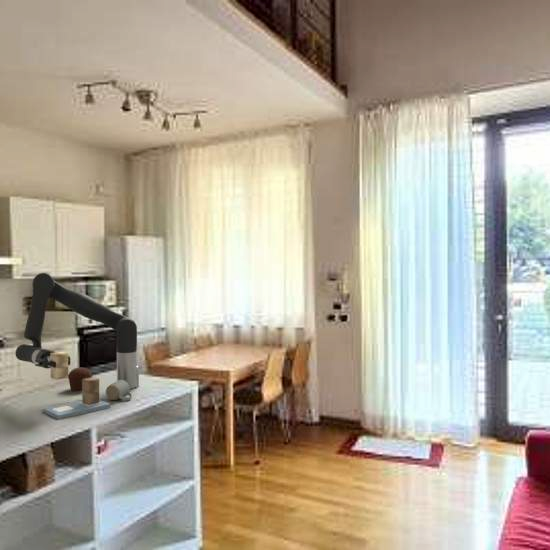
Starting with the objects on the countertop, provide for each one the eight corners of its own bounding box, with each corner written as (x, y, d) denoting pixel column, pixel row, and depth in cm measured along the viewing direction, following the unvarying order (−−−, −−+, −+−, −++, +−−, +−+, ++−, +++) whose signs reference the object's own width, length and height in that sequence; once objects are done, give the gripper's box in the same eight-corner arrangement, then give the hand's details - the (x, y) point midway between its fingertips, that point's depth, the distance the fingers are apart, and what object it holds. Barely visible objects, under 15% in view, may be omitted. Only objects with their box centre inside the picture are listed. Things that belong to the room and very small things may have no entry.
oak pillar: (62, 375, 219) (62, 351, 218) (68, 377, 215) (68, 353, 215) (50, 377, 215) (50, 353, 215) (56, 379, 212) (55, 354, 211)
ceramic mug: (104, 400, 233) (104, 383, 233) (115, 395, 241) (115, 378, 240) (125, 403, 229) (125, 385, 229) (136, 398, 237) (136, 381, 237)
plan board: (93, 401, 232) (93, 397, 232) (110, 407, 222) (110, 403, 222) (43, 411, 216) (42, 408, 216) (58, 419, 206) (58, 415, 206)
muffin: (97, 389, 252) (96, 368, 251) (73, 393, 244) (73, 371, 244) (86, 385, 261) (86, 364, 260) (63, 388, 253) (63, 367, 253)
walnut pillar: (93, 400, 227) (93, 377, 226) (99, 402, 223) (99, 379, 223) (82, 402, 223) (82, 379, 223) (88, 405, 220) (87, 381, 219)
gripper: (26, 351, 220) (44, 357, 208) (61, 347, 230) (79, 352, 218) (27, 369, 220) (44, 376, 208) (61, 364, 230) (79, 370, 218)
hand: (62, 363), depth 213 cm, fingers closed on oak pillar, 5 cm apart
